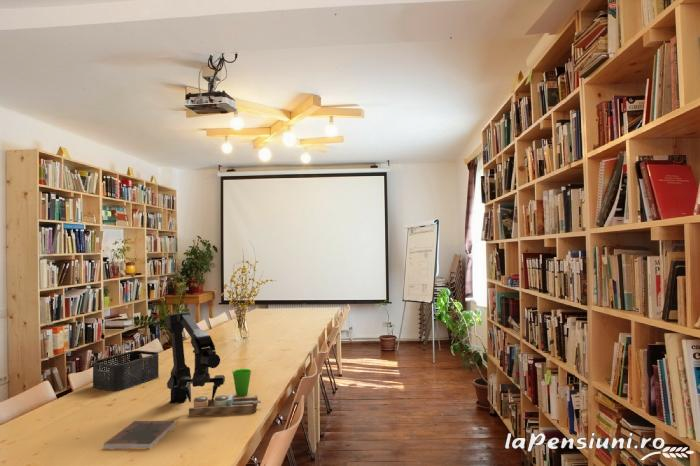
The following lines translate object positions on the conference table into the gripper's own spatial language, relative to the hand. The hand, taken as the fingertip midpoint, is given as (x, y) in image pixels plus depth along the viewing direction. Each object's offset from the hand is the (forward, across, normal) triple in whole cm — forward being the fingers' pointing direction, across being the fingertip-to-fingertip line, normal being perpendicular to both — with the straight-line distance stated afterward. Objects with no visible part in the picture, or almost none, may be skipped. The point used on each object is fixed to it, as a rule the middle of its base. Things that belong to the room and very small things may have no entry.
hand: (201, 401), depth 193 cm
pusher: (+4, +18, 0) cm, 19 cm away
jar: (+4, 0, 0) cm, 4 cm away
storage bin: (+5, -48, +53) cm, 71 cm away
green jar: (+4, +8, 0) cm, 9 cm away
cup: (+4, +15, +20) cm, 25 cm away
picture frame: (+5, -17, -24) cm, 30 cm away
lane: (+4, +10, 0) cm, 10 cm away
